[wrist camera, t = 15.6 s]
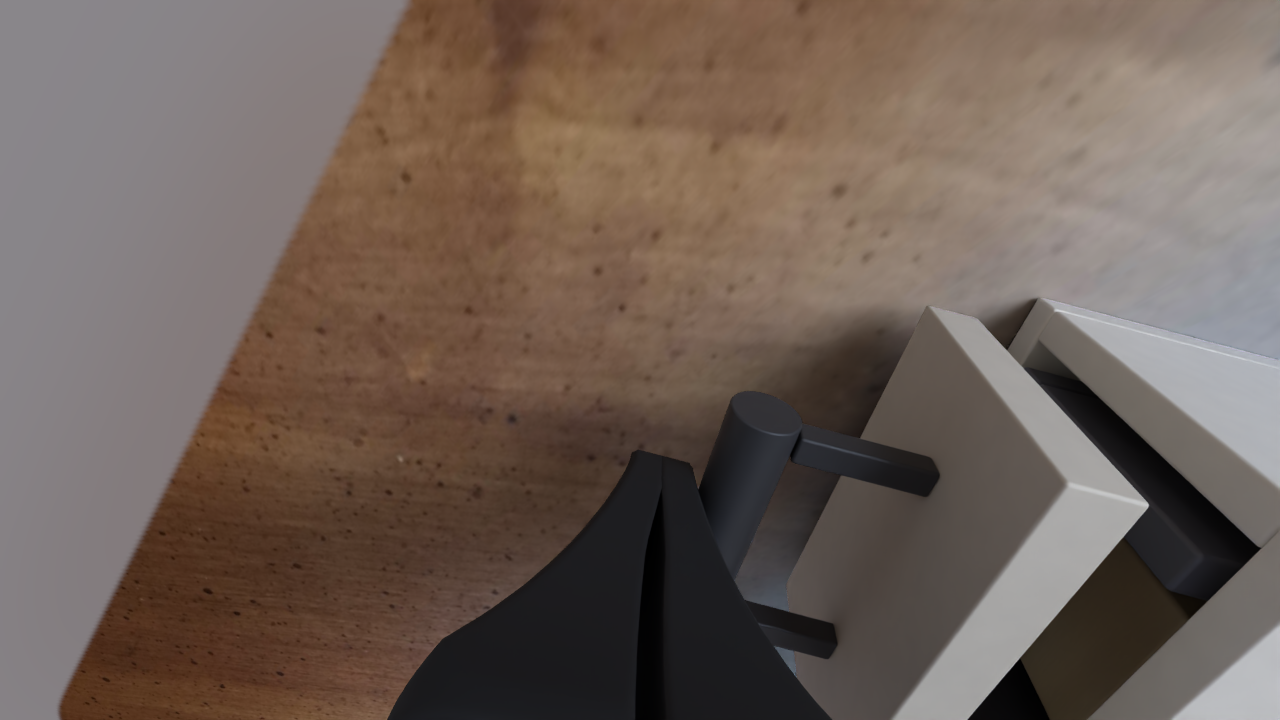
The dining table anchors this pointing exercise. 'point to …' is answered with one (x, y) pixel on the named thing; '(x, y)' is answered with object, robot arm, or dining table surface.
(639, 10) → the dining table surface
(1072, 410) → the drawer
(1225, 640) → the cabinet
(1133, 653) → the block
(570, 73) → the dining table surface
